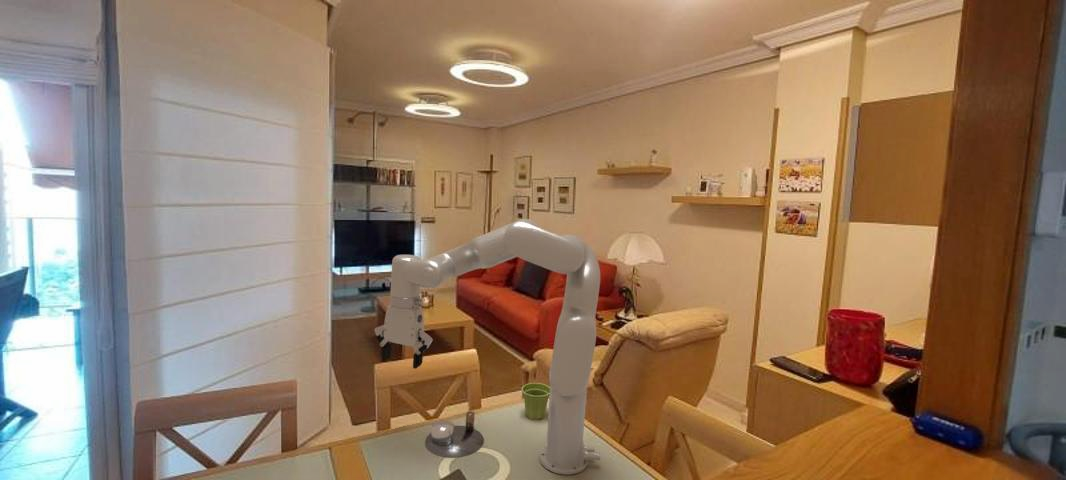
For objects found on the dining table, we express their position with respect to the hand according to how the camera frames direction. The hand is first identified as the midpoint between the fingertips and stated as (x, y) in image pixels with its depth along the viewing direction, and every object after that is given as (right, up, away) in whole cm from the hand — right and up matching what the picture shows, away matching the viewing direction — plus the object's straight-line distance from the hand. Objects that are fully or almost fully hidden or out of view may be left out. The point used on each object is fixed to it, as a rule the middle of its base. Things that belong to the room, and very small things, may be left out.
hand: (401, 363), depth 123 cm
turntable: (+14, -23, +3) cm, 27 cm away
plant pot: (+36, -22, +21) cm, 47 cm away
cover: (+10, -22, +3) cm, 24 cm away
